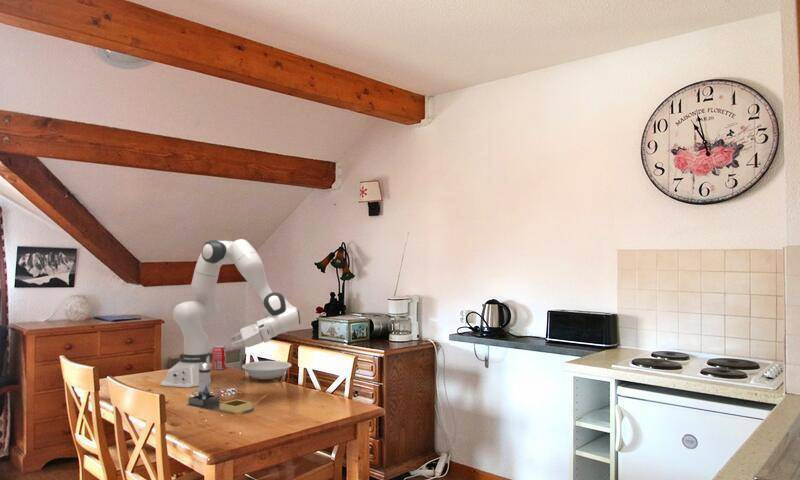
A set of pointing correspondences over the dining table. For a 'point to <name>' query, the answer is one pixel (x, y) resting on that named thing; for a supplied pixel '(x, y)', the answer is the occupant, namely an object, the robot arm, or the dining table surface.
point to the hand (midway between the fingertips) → (231, 342)
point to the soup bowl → (266, 369)
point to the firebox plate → (221, 405)
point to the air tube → (204, 380)
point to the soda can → (219, 357)
